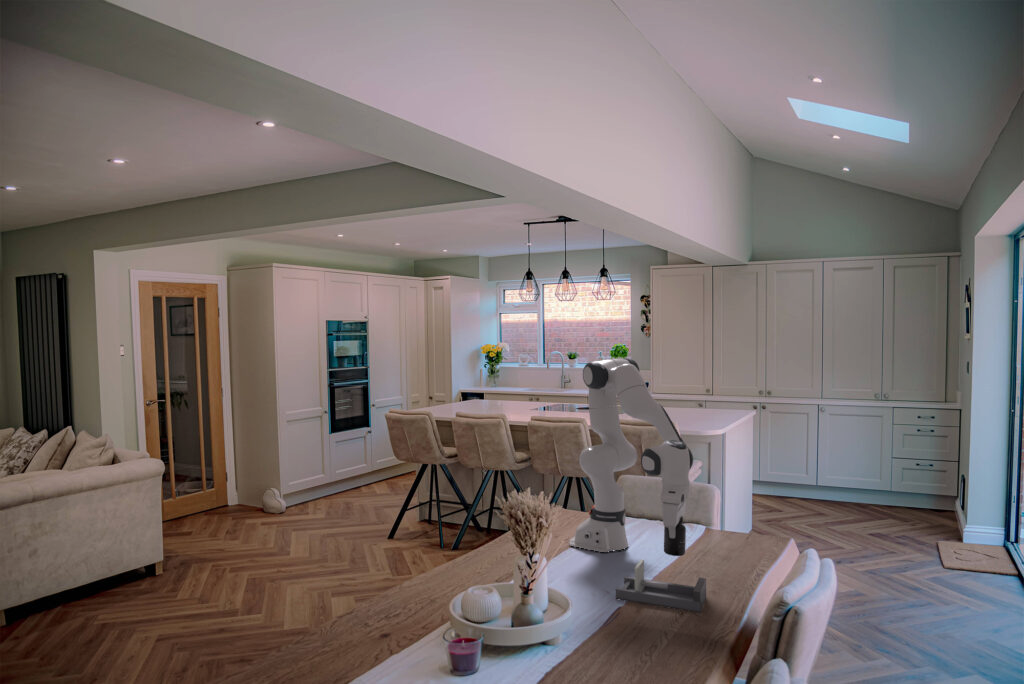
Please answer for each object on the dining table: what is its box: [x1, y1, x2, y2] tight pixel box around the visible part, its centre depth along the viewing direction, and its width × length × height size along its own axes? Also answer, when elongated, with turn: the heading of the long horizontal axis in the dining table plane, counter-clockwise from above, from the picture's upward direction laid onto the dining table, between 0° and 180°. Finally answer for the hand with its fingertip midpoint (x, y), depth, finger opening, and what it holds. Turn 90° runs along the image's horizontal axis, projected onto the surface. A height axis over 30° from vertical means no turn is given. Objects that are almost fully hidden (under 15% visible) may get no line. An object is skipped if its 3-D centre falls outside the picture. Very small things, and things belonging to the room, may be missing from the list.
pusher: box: [634, 559, 668, 592], centre depth 195 cm, size 9×8×9 cm
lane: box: [615, 576, 707, 614], centre depth 194 cm, size 25×11×6 cm, turn 65°
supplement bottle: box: [663, 515, 687, 557], centre depth 207 cm, size 7×7×12 cm
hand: (674, 533), depth 207 cm, fingers closed on supplement bottle, 7 cm apart
